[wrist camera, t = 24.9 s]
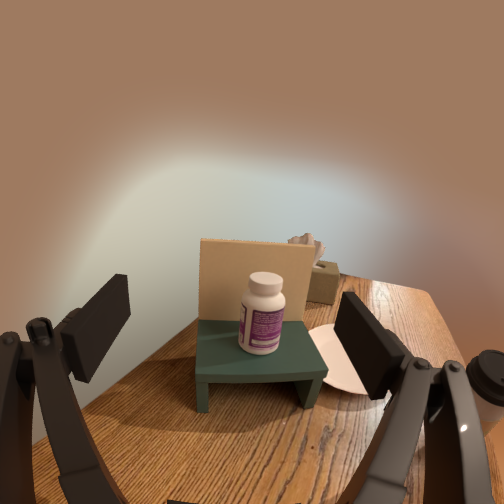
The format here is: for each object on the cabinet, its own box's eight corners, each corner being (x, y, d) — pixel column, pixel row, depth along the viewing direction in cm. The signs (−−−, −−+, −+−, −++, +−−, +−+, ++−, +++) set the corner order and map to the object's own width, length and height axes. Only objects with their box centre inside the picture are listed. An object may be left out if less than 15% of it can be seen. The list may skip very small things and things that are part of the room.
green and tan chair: (197, 415, 30) (194, 275, 25) (198, 355, 43) (201, 238, 37) (314, 410, 33) (354, 280, 27) (291, 355, 45) (313, 244, 39)
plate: (332, 321, 58) (335, 313, 57) (417, 357, 44) (421, 348, 43) (272, 363, 43) (274, 352, 42) (382, 423, 29) (388, 413, 29)
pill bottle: (285, 342, 36) (296, 277, 33) (265, 362, 31) (276, 291, 29) (251, 328, 38) (258, 265, 36) (229, 345, 34) (234, 277, 31)
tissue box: (332, 290, 75) (343, 235, 70) (334, 305, 65) (347, 244, 61) (267, 279, 78) (273, 224, 73) (260, 293, 69) (267, 232, 64)
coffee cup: (426, 481, 18) (498, 399, 14) (410, 431, 27) (460, 347, 23) (475, 465, 17) (540, 384, 13) (456, 423, 26) (505, 344, 22)
